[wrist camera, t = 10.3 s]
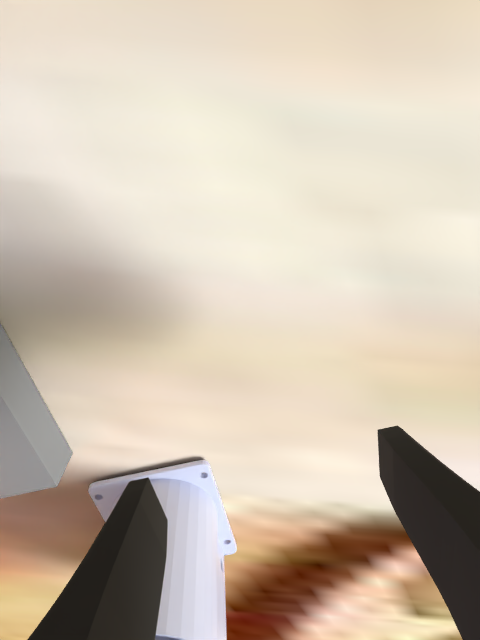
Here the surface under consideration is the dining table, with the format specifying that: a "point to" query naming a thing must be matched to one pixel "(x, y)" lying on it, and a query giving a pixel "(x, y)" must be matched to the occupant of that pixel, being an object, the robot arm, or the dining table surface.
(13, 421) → the socket board
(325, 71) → the dining table surface
